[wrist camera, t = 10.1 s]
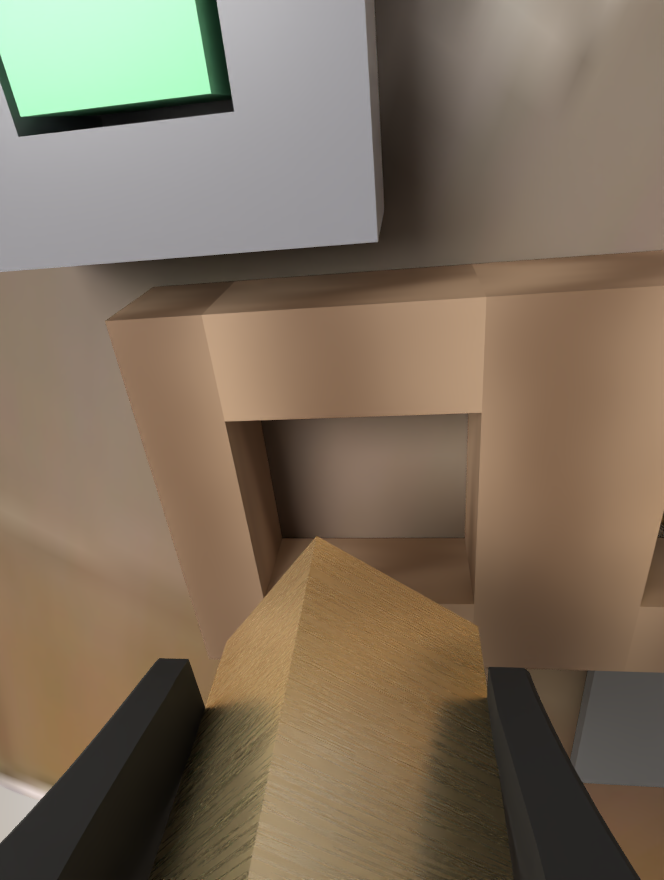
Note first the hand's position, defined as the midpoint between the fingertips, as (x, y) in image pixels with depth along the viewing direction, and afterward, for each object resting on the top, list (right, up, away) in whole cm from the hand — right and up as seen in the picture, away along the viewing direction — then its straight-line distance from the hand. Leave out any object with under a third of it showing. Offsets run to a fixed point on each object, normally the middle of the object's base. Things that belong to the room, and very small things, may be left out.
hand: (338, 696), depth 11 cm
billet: (0, +1, +2) cm, 2 cm away
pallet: (+6, +4, +6) cm, 10 cm away
